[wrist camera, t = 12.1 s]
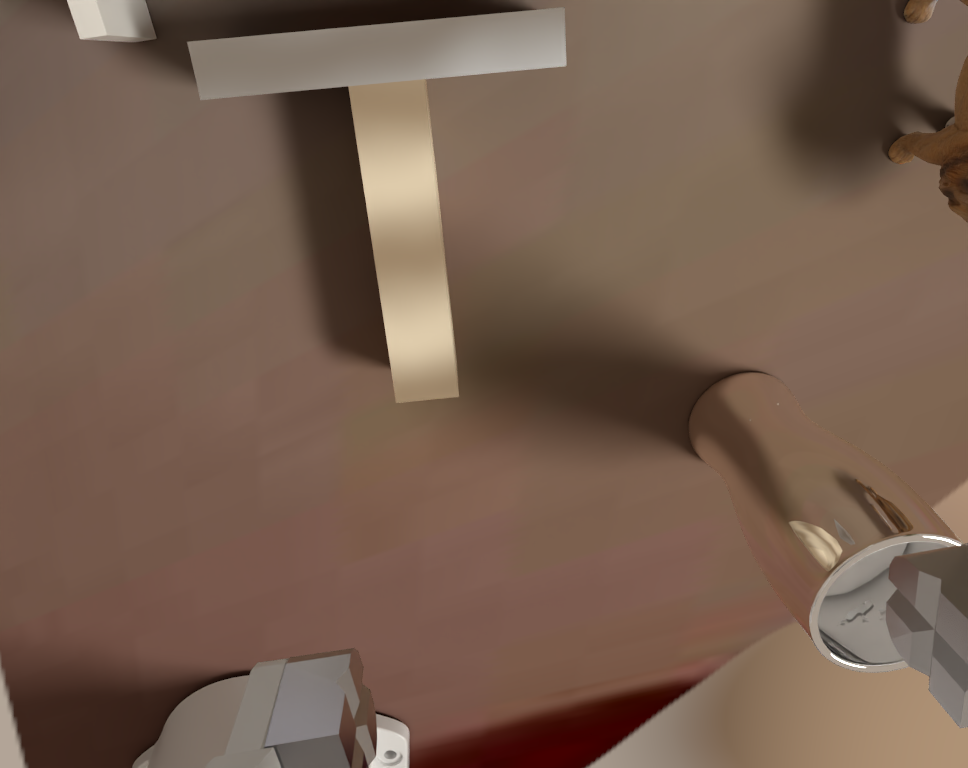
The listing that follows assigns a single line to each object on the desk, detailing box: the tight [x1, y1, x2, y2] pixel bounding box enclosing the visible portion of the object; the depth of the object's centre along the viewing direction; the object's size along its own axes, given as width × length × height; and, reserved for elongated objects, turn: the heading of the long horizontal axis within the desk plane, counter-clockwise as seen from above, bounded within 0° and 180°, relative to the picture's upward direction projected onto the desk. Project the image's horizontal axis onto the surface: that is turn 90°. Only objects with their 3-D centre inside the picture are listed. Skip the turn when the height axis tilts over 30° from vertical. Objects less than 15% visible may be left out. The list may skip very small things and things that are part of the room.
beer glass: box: [688, 372, 964, 672], centre depth 33 cm, size 7×7×15 cm
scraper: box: [187, 7, 566, 403], centre depth 32 cm, size 16×14×5 cm
